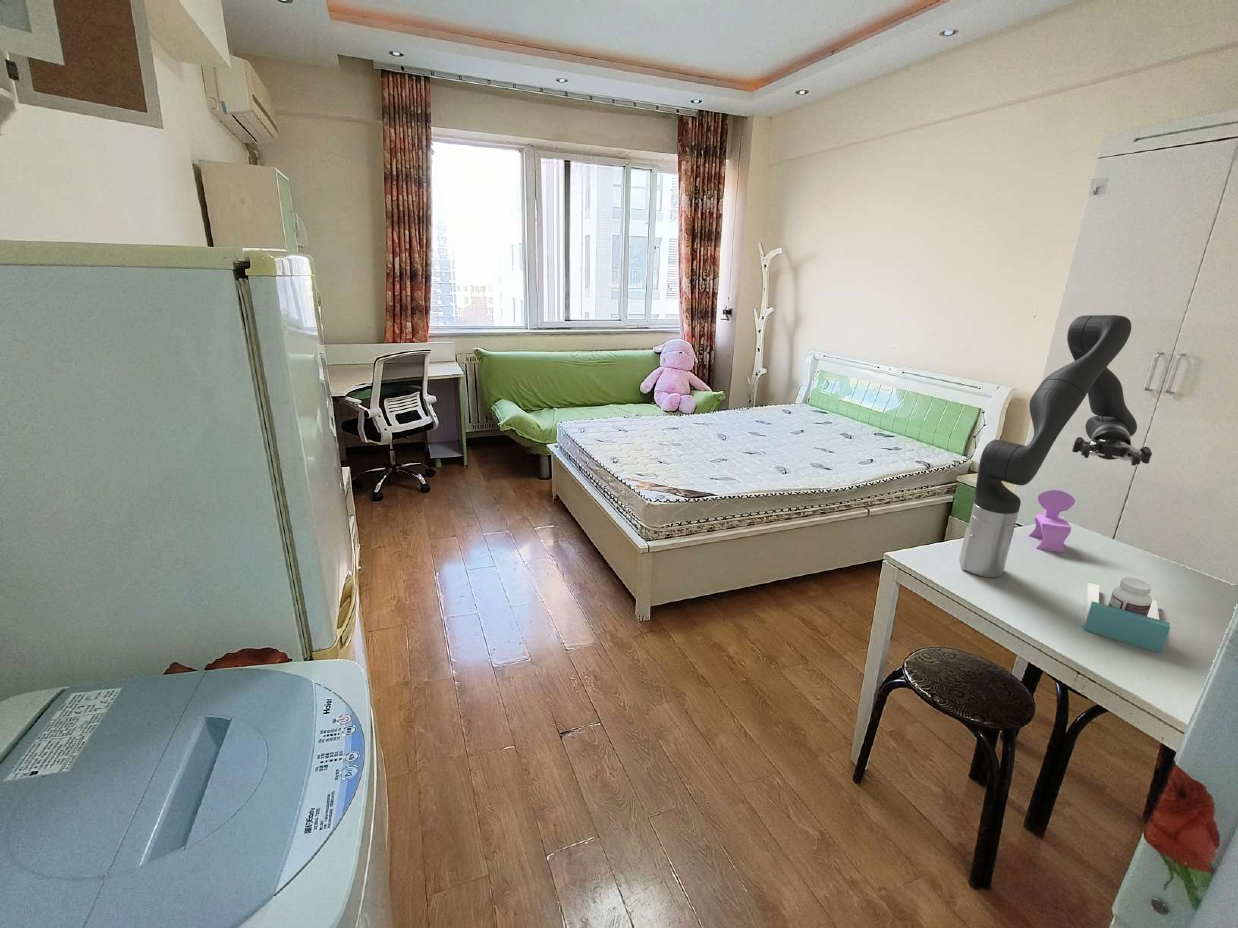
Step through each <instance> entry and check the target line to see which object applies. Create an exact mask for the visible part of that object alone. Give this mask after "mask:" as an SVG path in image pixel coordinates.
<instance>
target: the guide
mask: <svg viewBox="0 0 1238 928" xmlns="http://www.w3.org/2000/svg"><path fill="white" fill-rule="evenodd" d="M1084 609H1085V610H1084V621H1083V622H1084V624H1083V630H1084V631H1087V632H1089V633H1093V634H1096V635H1100V636H1103V637H1107V638H1110V639H1114V640H1117V641H1118V642H1119V641H1120V642H1123V643H1126V644H1129V645H1133V646H1136V647H1140V648H1142V649H1146V650H1148V651H1149V650H1150V651H1153V652H1156V653H1159V654H1161V653H1162V650H1163V648H1164V646H1165V643H1166V640H1167V637H1168V635H1169V633H1170V629H1171V623H1170V622H1169V621H1164V620H1161V619H1160V615H1159V614H1160V613H1159V608H1158V601H1157V599H1152V603H1151V606H1150V609H1149V612H1148V615H1147V616H1143V615H1140V614H1136V613H1133V612H1129V611H1125V610H1122V609H1118V608H1115V607H1111V606H1108V605H1107V604H1103V603H1101V602H1100V585H1099V584H1094V583H1091V582H1088V583H1087V586H1086V595H1085V608H1084Z"/></svg>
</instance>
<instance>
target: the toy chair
mask: <svg viewBox="0 0 1238 928" xmlns="http://www.w3.org/2000/svg"><path fill="white" fill-rule="evenodd" d="M1036 500H1037V502H1038V504H1039V505H1040V506H1041V508H1043V509H1045V510H1044V514H1040V513H1036V514H1035V517H1034V521H1035V527H1034V529H1033V530H1032V531H1031V532H1030V533H1029V534H1028V536H1029V537H1034V538H1041V539H1042V540H1041V542H1040V543H1039V544H1038V545H1037V546H1036V547H1035V548H1036V549H1037V550H1044V551H1051V552H1057V553H1065V547H1064V546H1065V545H1064V544H1065V541H1066V540H1067V538H1068V537H1069V536H1070V534H1071V532H1072V526H1071V525H1070V523H1069V522H1068V521H1067V519H1066V518H1065V517H1062V516H1060V513H1062V512H1065V511H1068V510H1069V509H1070V508H1072V507H1073V506H1074V505H1075V502H1076V500H1075V497H1073V496H1072V495H1071V494H1069V493H1068V492H1066V491H1063V490H1058V489H1049V490H1046V491H1043V492H1041V493H1039V494H1038V496H1037V498H1036Z"/></svg>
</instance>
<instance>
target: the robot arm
mask: <svg viewBox="0 0 1238 928" xmlns="http://www.w3.org/2000/svg"><path fill="white" fill-rule="evenodd" d="M1067 330H1068V331H1067V337H1066V339H1067V340H1066V341H1067V344H1068V349H1069V351H1070V353H1071V356H1072V358H1073V360H1074V361H1073V362H1070V363H1068V364H1066V365H1064V366H1062V367H1060V368H1059V369H1057V370H1055V371H1053V372H1052V373H1051V374H1049V375H1047V377H1045V378H1044V379H1043V381H1042V382H1041V383H1040V384H1039V386H1038V387H1037V388H1036V390H1035V391H1034V393H1033V394H1032V396H1031V398H1030V400H1029V414H1030V418H1031V421H1032V425H1033V437H1032V440H1031V441H1030V442H1029V443H1028V444H1027V445H1023V444H1019V443H1014V442H1010V441H1006V440H1002V439H993V440H990V441H989V442H987V444H986V445H985V447H984V448H983V450H982V452H981V456H980V460H979V464H978V472H977V478H976V484H975V489H974V502H973V506H972V510H971V515H970V517H969V518H970V519H969V523H968V526H966V527H965V532H964V536H963V539H962V540H963V541H962V545H961V550H960V555H959V563H960V568H961V570H962V571H967V572H968V573H971V574H974V575H977V576H980V577H985V578H998V577H1001V576H1002V575H1003V574H1004V572H1005V571H1004V570H1005V568H1006V563H1007V560H1008V555H1009V551H1010V548H1011V547H1010V546H1011V543H1012V539H1013V536H1014V531H1015V527H1016V523H1017V519H1018V515H1019V512H1020V508H1021V505H1022V504H1021V503H1022V502H1021V498H1020V497H1019V496H1018V495H1017V494H1016V493H1014V492H1013V491H1011V490H1009V489H1008V488H1007V487H1006V486H1005V484H1004V483H1003V482H1005V483H1007V484H1011V485H1016V486H1026V485H1027V484H1029V483H1030V482H1031V481H1032V480H1033V479H1034V478H1035V476H1036V475H1037V474H1038V471H1039V470H1040V469H1041V467H1042V465H1043V464H1044V461H1045V459H1046V457H1047V456H1048V454H1049V452H1050V450H1051V449H1052V447H1053V445H1054V443H1055V442H1056V439H1057V438H1058V436H1060V433H1062V430H1063V429H1064V428H1065V426H1066V425H1067V424H1068V422H1069V421H1070V419H1071V418H1072V417H1073V415H1074V414H1075V413H1076V411H1077V410H1078V408H1079V407H1080V406H1081V404H1082V403H1083V402H1084V399H1085V398H1086V396H1087V397H1088V403H1089V407H1090V411H1091V412H1092V414H1094V416H1091V417H1090V418H1088V419H1087V421H1086V423H1085V432H1086V435H1087V436H1088V438H1089V439H1090V440H1089V441H1085V440H1086V439H1084V438H1083V437H1081V436H1079V437H1076V438H1075V441H1074V443H1073V447H1072V453H1079V452H1080V455H1081V456H1083V457H1084V458H1085V459H1089V457H1090V456H1092V457H1093V456H1094V457H1095V456H1096V457H1098V458H1100V459H1103V460H1107V461H1108V460H1109V461H1111V460H1112V461H1113V460H1122V461H1124V462H1129V461H1130V462H1131V463H1130V464H1131V466H1134V467H1136V465H1140V464H1141V463H1144V464H1150V460H1151V458H1152V455H1153V452H1152V451H1151V448H1150V447H1148V446H1142V447H1140V449H1139V448H1136V447H1135V446H1133V445H1132V440H1131V438H1132V436H1134V435H1135V434H1136V432H1137V429H1138V424H1137V420H1136V419H1135V417H1134V415H1133V414H1132V413H1131V411H1130V410H1129V408H1128V407H1127V405H1126V402H1125V398H1124V397H1125V395H1124V392H1123V391H1124V389H1123V385H1122V383H1121V382H1120V379H1119V378H1118V377H1117V375H1115V373H1114V372H1113V371H1112V370H1110V369H1109V368H1108V366H1109V365H1110V364H1111V363H1112V361H1114V359H1115V358H1116V357H1117V356H1118V355H1119V354H1120V352H1121V351H1122V349H1123V348H1124V347H1125V345H1126V344H1127V342H1128V339H1129V337H1130V335H1131V333H1132V322H1131V320H1130V319H1129V318H1128V317H1127V316H1125V315H1118V314H1117V315H1116V314H1107V315H1105V314H1104V315H1103V314H1100V315H1098V314H1097V315H1095V314H1093V315H1090V314H1089V315H1080V316H1078V317H1076V318H1074V320H1072V321H1071V323H1070V325H1069V327H1068V329H1067Z"/></svg>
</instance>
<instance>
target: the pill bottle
mask: <svg viewBox="0 0 1238 928" xmlns="http://www.w3.org/2000/svg"><path fill="white" fill-rule="evenodd" d="M1151 591H1152V585H1151V584H1150V583H1148V582H1147V581H1144V580H1141V579H1138V578H1136V577H1129V576H1127V577H1122V578H1121V580H1120V583H1119V586H1116V587H1114V588H1113V590H1112V592H1111V595H1110V599H1109V602H1108V605H1107V606H1111V607H1115V608H1118V609H1122V610H1125V611H1129V612H1133V613H1136V614H1140V615H1143V616H1147V615H1148V612H1149V609H1150V606H1151V603H1152V600H1153V597H1152V596H1151V595H1150V593H1151Z"/></svg>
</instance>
